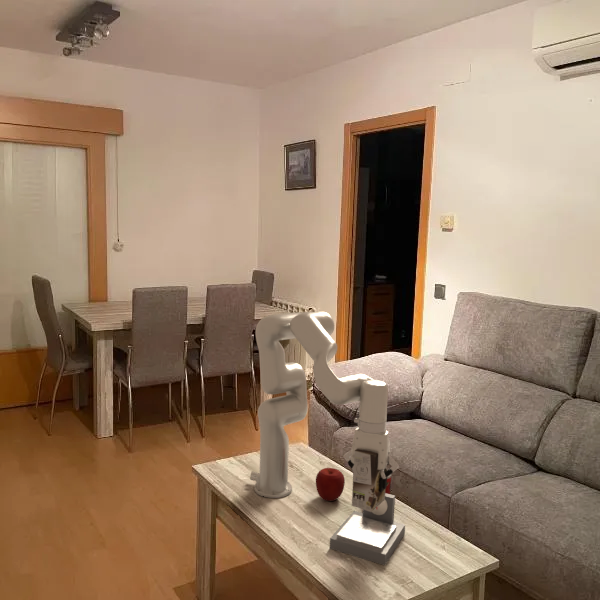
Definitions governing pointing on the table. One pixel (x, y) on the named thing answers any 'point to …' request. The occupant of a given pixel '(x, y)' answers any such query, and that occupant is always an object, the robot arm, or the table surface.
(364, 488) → the coffee box
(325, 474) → the apple
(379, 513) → the base
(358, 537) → the scale pan
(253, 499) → the table surface
